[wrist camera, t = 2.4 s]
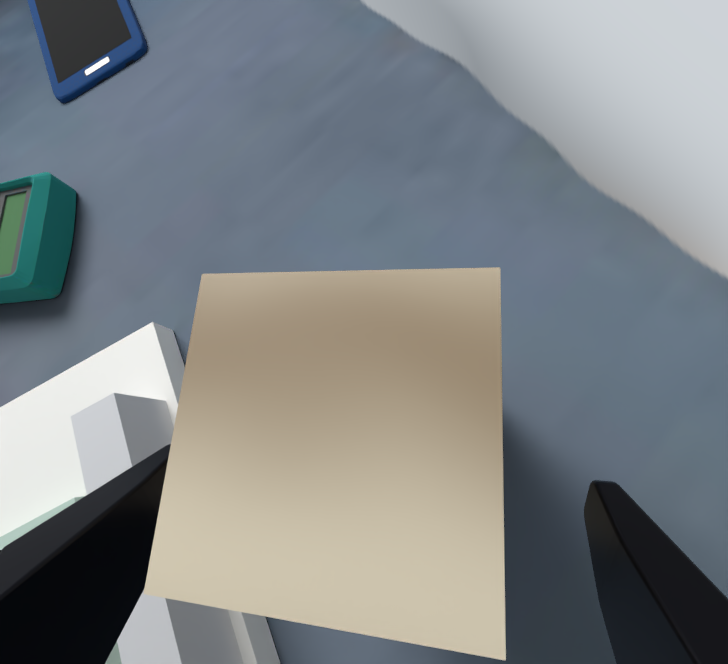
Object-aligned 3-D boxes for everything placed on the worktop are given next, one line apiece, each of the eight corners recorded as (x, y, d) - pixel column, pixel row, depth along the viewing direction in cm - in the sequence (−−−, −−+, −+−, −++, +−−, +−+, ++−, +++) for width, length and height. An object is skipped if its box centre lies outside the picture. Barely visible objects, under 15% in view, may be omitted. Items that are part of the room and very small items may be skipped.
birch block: (471, 509, 16) (505, 660, 5) (348, 496, 17) (143, 594, 6) (472, 383, 17) (500, 267, 6) (357, 378, 18) (202, 274, 7)
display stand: (324, 799, 15) (270, 944, 10) (-39, 963, 16) (-221, 1153, 11) (172, 330, 21) (102, 301, 17) (-75, 468, 22) (-200, 473, 18)
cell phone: (65, 111, 28) (55, 103, 28) (32, -3, 33) (23, -13, 32) (154, 56, 28) (146, 46, 27) (108, -52, 32) (100, -63, 32)
